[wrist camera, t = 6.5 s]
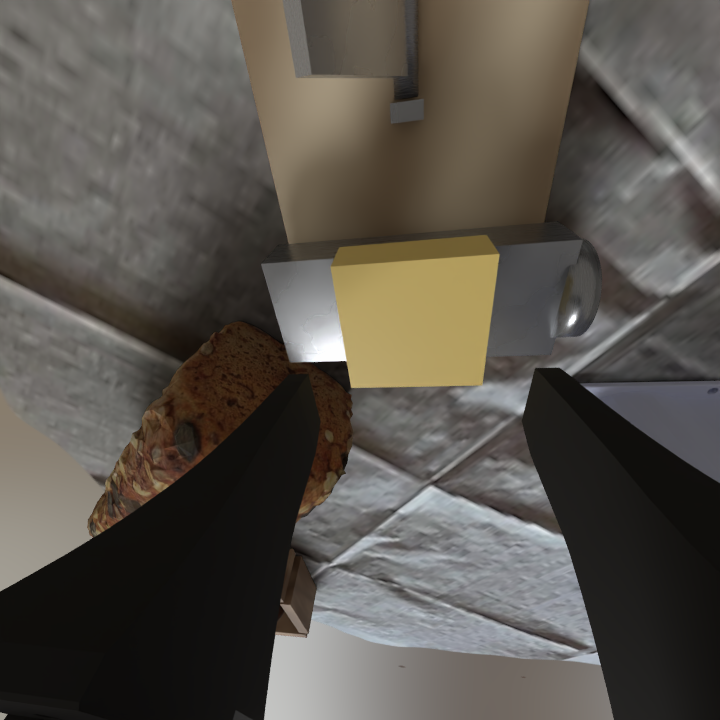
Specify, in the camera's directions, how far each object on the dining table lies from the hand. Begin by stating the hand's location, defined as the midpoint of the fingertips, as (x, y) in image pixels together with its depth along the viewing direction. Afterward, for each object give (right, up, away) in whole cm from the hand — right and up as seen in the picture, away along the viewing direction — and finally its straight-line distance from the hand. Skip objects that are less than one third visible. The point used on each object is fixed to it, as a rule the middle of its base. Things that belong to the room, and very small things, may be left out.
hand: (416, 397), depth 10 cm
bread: (-11, -4, +17) cm, 21 cm away
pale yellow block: (+1, +5, +7) cm, 9 cm away
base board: (0, +10, +5) cm, 11 cm away
